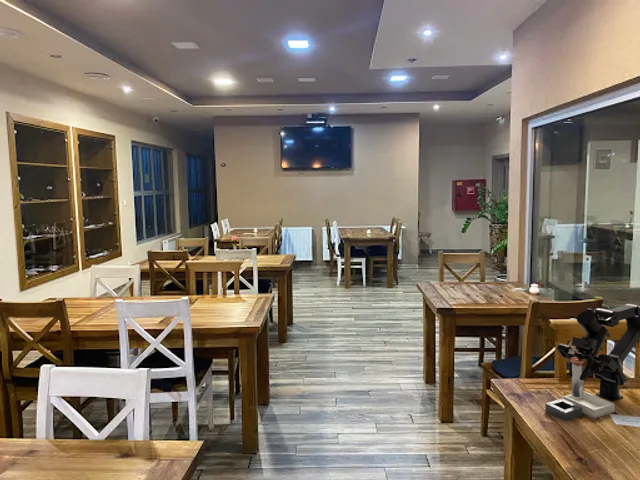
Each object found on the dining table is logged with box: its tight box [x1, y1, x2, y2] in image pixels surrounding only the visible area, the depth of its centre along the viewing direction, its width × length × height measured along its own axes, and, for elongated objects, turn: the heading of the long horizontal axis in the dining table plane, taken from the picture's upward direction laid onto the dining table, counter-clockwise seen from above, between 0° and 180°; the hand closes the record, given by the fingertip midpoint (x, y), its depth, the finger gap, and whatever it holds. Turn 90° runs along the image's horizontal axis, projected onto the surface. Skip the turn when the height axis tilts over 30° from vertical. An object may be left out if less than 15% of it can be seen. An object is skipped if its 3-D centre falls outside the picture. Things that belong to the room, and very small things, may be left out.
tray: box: [563, 391, 616, 420], centre depth 166 cm, size 10×12×3 cm
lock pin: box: [569, 357, 587, 398], centre depth 164 cm, size 5×5×13 cm
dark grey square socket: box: [544, 398, 583, 422], centre depth 163 cm, size 8×8×3 cm
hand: (575, 378), depth 163 cm, fingers closed on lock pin, 4 cm apart
